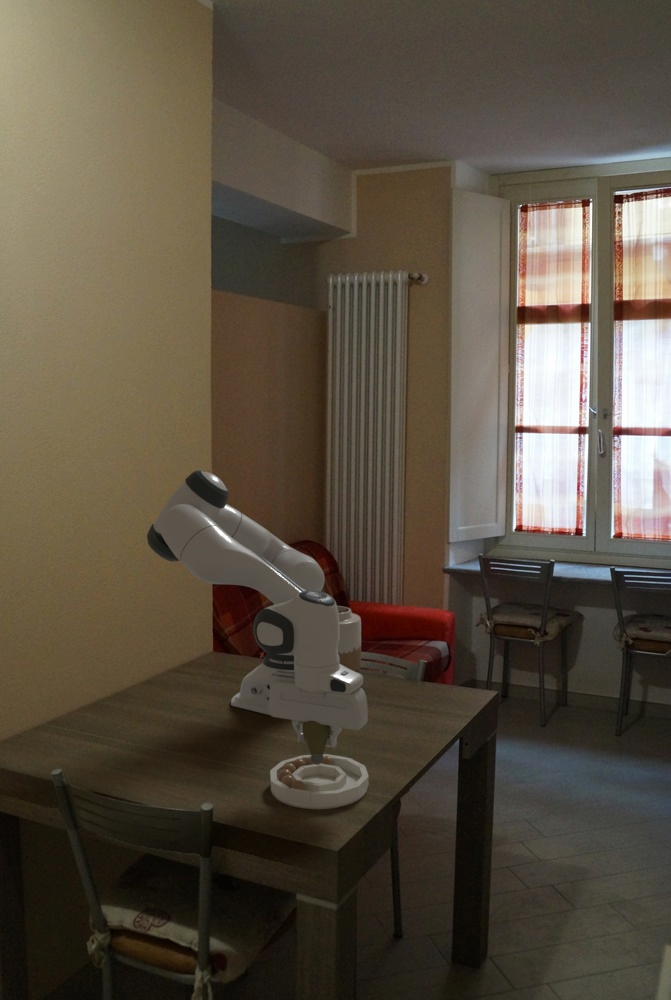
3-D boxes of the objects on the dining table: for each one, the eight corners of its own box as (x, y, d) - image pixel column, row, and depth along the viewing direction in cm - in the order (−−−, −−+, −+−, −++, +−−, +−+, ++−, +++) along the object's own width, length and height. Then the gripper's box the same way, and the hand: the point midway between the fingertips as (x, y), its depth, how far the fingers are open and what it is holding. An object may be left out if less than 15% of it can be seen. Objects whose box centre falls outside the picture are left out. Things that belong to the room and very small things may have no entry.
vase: (302, 674, 259) (301, 615, 257) (312, 658, 274) (312, 602, 272) (356, 677, 256) (356, 617, 254) (364, 661, 271) (364, 604, 269)
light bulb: (302, 758, 187) (301, 710, 186) (330, 757, 187) (329, 709, 186) (303, 770, 182) (302, 721, 180) (332, 769, 182) (331, 720, 180)
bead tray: (253, 798, 180) (253, 780, 180) (296, 762, 197) (296, 745, 197) (344, 816, 173) (344, 796, 172) (381, 777, 190) (381, 759, 189)
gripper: (261, 673, 184) (262, 741, 185) (358, 686, 175) (358, 757, 177) (276, 664, 189) (277, 730, 191) (371, 677, 181) (370, 745, 183)
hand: (317, 743), depth 184 cm, fingers closed on light bulb, 5 cm apart
